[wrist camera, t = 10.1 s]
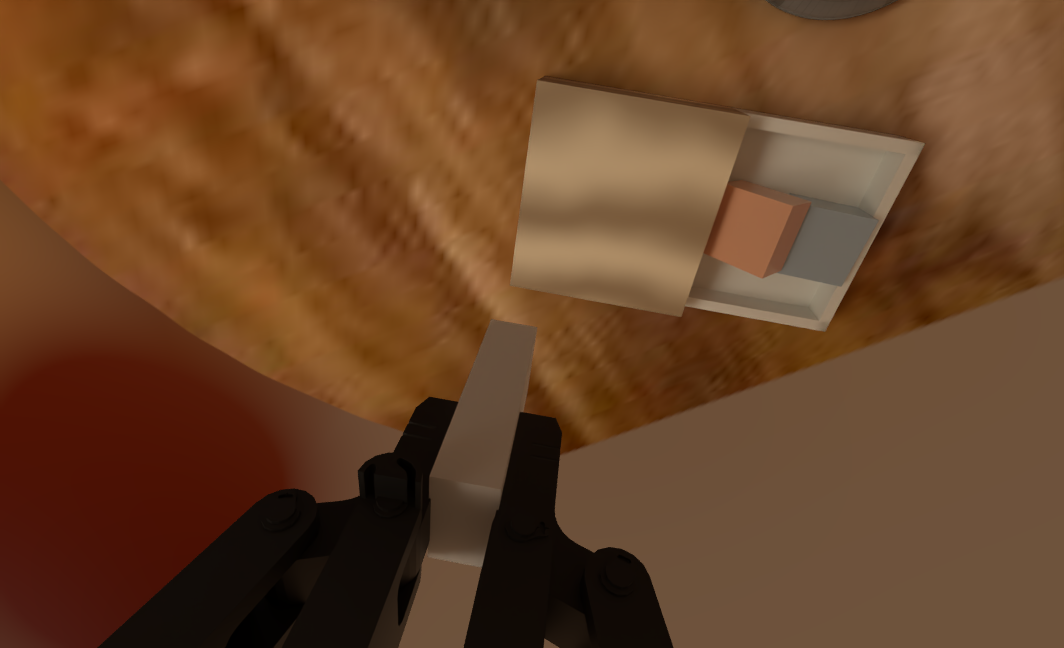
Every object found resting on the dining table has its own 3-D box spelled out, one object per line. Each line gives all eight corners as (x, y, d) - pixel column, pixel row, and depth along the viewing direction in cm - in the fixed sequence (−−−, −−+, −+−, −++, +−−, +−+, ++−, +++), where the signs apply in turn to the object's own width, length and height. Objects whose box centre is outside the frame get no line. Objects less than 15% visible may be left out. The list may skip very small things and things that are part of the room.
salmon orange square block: (741, 179, 35) (721, 182, 33) (811, 201, 32) (793, 206, 30) (718, 244, 37) (697, 250, 35) (780, 270, 34) (762, 278, 32)
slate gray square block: (879, 220, 32) (858, 207, 35) (804, 204, 32) (789, 192, 35) (841, 286, 35) (824, 270, 37) (772, 272, 35) (760, 256, 37)
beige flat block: (545, 75, 34) (537, 80, 29) (730, 107, 33) (750, 116, 29) (519, 260, 41) (509, 285, 36) (672, 288, 40) (681, 317, 36)
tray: (730, 107, 33) (742, 112, 31) (899, 135, 33) (925, 143, 30) (672, 288, 40) (677, 304, 38) (810, 313, 40) (824, 331, 37)
